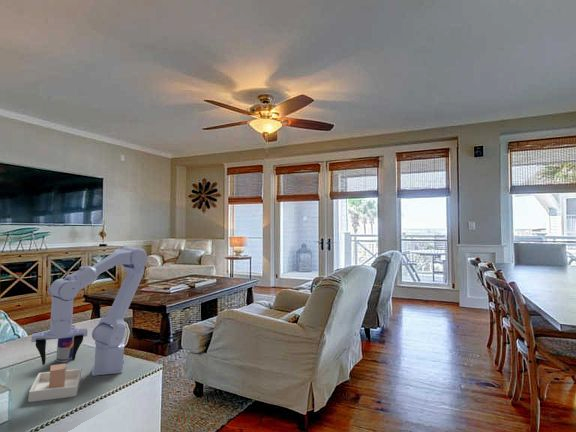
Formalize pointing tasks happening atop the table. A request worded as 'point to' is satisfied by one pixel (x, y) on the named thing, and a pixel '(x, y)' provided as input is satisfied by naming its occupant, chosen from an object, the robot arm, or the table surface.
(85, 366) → the table surface
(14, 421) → the table surface
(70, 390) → the tray
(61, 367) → the block
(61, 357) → the energy drink
